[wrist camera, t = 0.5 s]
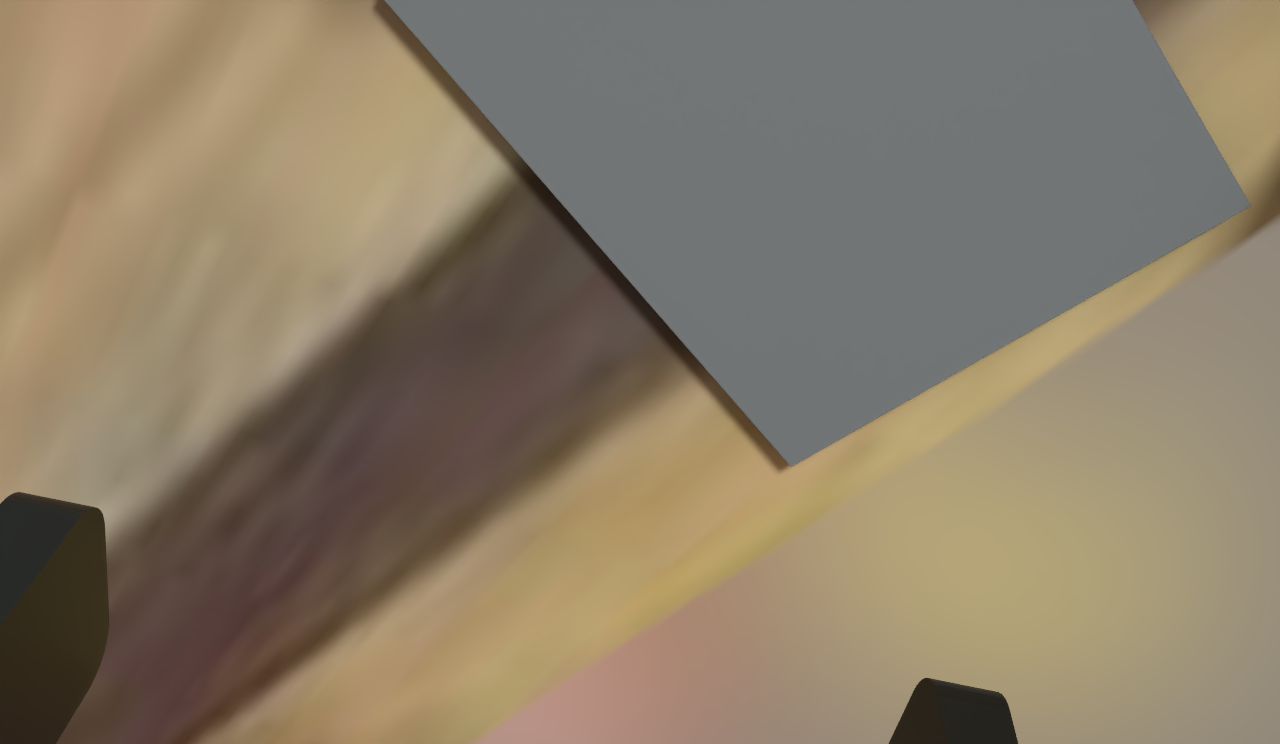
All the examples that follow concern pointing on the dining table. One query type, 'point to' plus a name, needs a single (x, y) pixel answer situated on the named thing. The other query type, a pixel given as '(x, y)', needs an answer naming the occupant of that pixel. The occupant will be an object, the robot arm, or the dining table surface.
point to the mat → (845, 173)
